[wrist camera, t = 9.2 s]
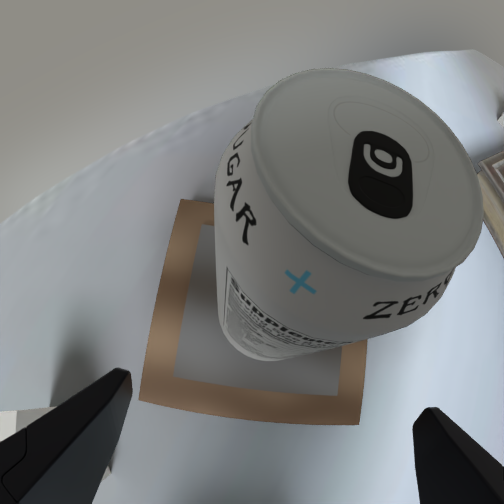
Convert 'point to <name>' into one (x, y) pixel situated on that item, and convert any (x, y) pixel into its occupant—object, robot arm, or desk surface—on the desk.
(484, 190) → the book
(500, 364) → the desk surface
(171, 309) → the brown square frame
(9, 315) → the desk surface
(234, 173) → the energy drink can
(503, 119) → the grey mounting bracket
